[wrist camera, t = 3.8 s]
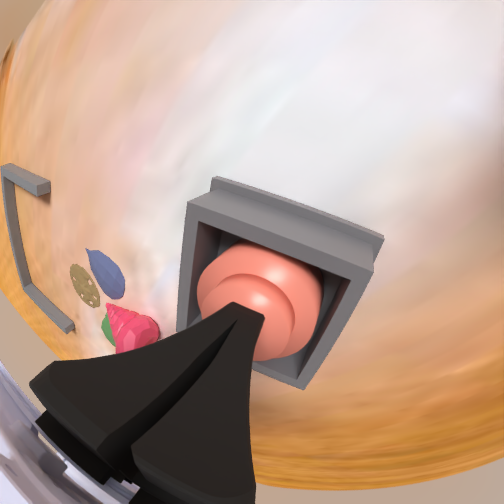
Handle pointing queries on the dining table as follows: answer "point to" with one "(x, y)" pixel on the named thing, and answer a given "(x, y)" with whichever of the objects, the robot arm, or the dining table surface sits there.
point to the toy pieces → (117, 319)
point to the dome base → (287, 242)
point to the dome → (265, 294)
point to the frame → (37, 188)
